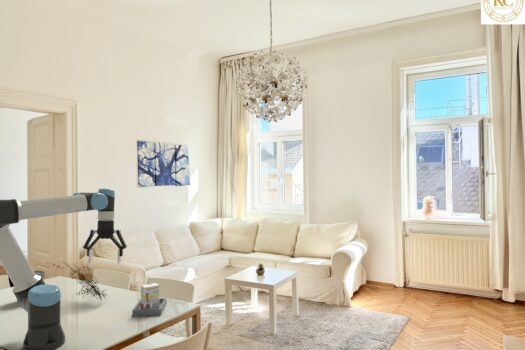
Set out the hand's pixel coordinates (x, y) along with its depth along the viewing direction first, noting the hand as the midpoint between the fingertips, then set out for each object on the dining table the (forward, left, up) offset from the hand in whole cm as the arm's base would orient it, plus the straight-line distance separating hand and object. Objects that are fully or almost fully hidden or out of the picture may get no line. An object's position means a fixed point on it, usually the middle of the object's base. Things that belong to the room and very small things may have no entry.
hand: (104, 263), depth 190 cm
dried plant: (+31, +24, -27) cm, 48 cm away
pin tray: (+11, -20, -27) cm, 35 cm away
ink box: (+10, -20, -26) cm, 34 cm away
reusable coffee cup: (+37, +51, -27) cm, 69 cm away
